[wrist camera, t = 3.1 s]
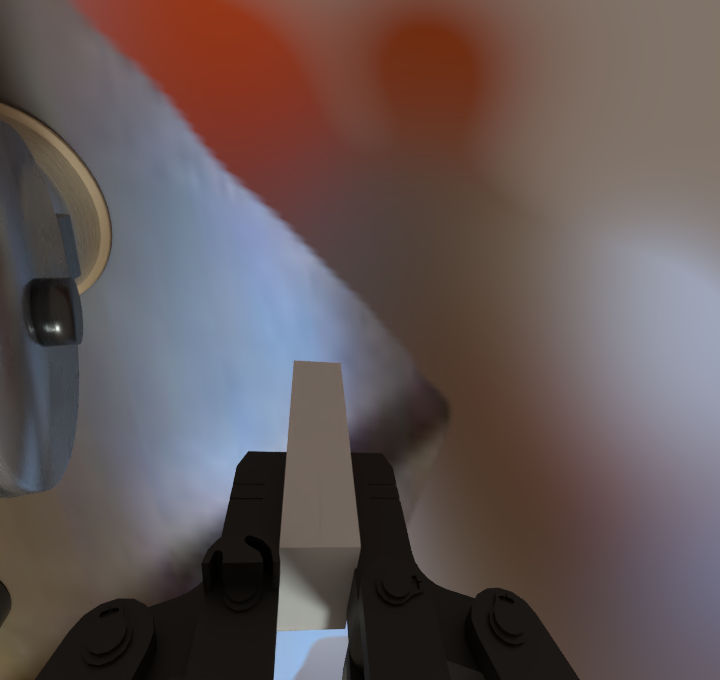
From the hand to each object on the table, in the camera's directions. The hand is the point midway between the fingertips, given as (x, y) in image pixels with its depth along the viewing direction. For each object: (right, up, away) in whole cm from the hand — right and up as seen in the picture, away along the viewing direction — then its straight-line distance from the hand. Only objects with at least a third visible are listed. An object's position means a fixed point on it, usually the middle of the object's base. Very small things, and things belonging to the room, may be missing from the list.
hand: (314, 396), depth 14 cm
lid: (-12, +3, +3) cm, 13 cm away
